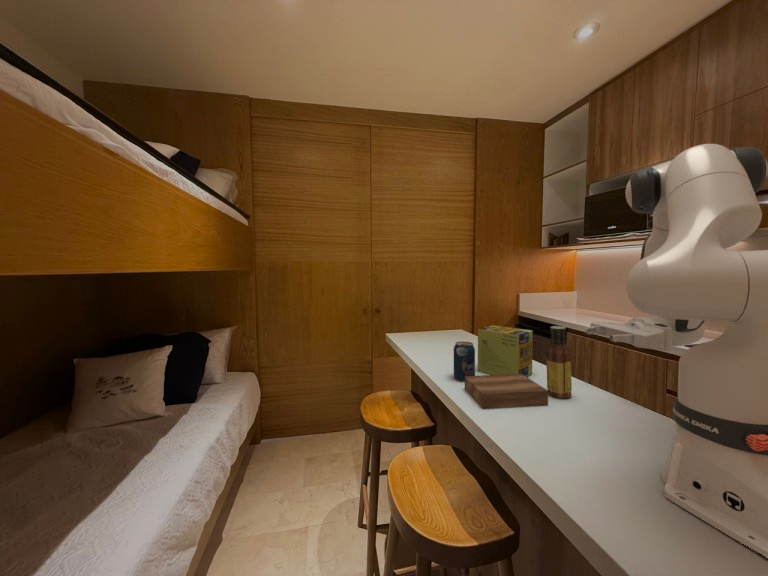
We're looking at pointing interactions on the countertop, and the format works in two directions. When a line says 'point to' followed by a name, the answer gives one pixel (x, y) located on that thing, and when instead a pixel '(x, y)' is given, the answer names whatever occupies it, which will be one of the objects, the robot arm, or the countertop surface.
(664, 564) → the countertop surface
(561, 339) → the sauce bottle
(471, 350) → the soda can
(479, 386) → the walnut stand
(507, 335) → the protein box
